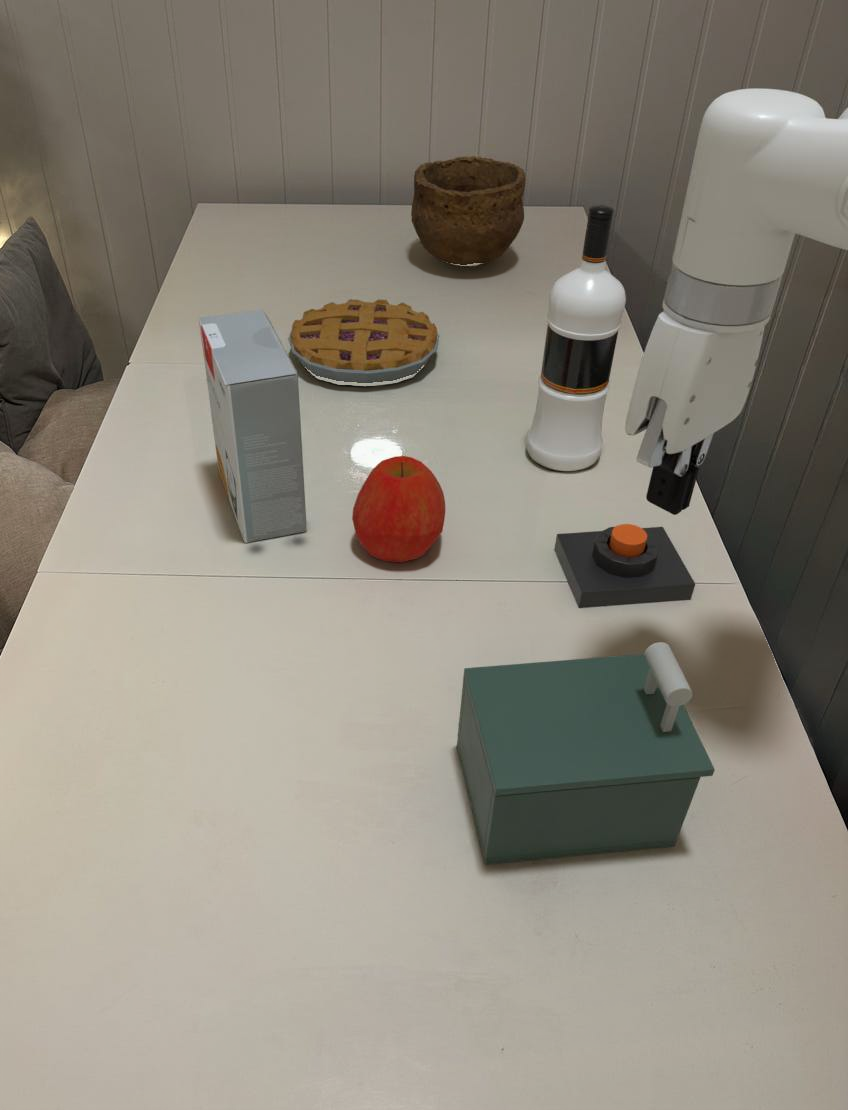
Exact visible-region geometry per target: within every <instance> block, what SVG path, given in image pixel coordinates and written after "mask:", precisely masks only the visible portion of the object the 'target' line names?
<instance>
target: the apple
mask: <svg viewBox="0 0 848 1110" xmlns="http://www.w3.org/2000/svg"><path fill="white" fill-rule="evenodd" d="M446 509H447V508H446V499H445V495H444V491H443V488H442V486H441V484H440V482H439V480H438V479H437V477H436V476H435V474H434V473H433V471H431V469H430V468H429V467H428V466H427V465H425V464H424V463H423V462H422V461H421V460H419V459H417V458H414V457H412V456H407V455H399V456H397V455H396V456H393V457H389V458H386V459H383V460H381V461H380V462H379V463H377V464H376V465H375V466H374V468H373V469H372V470H371V471H370V473H369V474H368V476H367V477H366V479H365V481H364V482H363V484H362V486H361V488H360V489H359V491H358V493H357V495H356V499H355V502H354V505H353V508H352V516H351V519H352V523H353V528H354V531H355V532H354V533H355V536H356V539H357V540H358V541H359V543H360V544H361V545H362V547H363V548H364V550H366V552H367V553H368V554H369V555H370V556H371V557H374V558H376V559H379V560H381V561H384V562H394V563H404V562H408V561H412V560H415V559H418V558H420V557H423V555H425V554H426V553H427V552H428V550H429V549H430V548H431V547H432V546H433V544H434V543H435V542H436V540H437V539H438V538H439V536H441V534H442V533H443V529H444V525H445V519H446V518H445V517H446Z"/></svg>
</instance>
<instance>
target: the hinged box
mask: <svg viewBox="0 0 848 1110" xmlns="http://www.w3.org/2000/svg"><path fill="white" fill-rule="evenodd" d="M457 729H458V730H457V740H456V747H457V752H458V756H459V760H460V765H461V769H462V772H463V776H464V781H465V783H466V784H465V785H466V788H467V793H468V798H469V803H470V806H471V810H472V814H473V818H474V824H475V827H476V831H477V835H478V841H479V845H480V849H481V853H482V857H483V862H484V865H493V864H506V863H515V862H526V861H537V860H547V859H555V858H556V859H557V858H567V857H576V856H586V855H587V856H588V855H596V854H607V853H617V852H618V853H619V852H628V851H629V852H630V851H638V850H639V851H640V850H649V849H659V848H668V847H669V848H670V847H675V846H676V843H677V840H678V838H679V836H680V833H681V830H682V827H683V825H684V821H685V820H686V817H687V815H688V811H689V809H690V806H691V804H692V801H693V799H694V795H695V793H696V791H697V788H698V785H699V783H700V779H701V777H695V778H684V779H673V780H662V781H651V782H640V783H630V784H619V785H608V786H597V787H586V788H575V789H564V790H553V791H542V792H531V793H520V794H509V795H499V796H496V795H495V793H494V789H493V785H492V781H491V777H490V773H489V770H488V766H487V762H486V758H485V754H484V750H483V747H482V743H481V739H480V735H479V731H478V727H477V724H476V720H475V716H474V712H473V708H472V704H471V701H470V697H469V693H468V689H467V685H466V682H465V678H464V675H463V678H462V688H461V698H460V709H459V718H458V728H457Z"/></svg>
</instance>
